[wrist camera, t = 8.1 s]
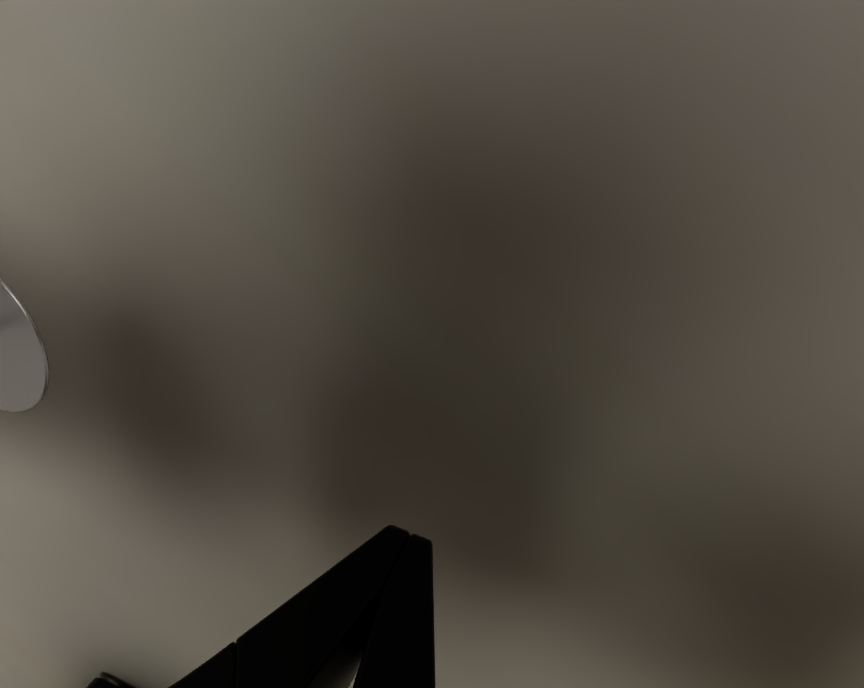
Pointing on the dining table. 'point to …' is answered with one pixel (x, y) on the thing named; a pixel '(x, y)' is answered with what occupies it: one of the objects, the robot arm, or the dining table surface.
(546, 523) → the dining table surface
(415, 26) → the dining table surface
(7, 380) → the goblet set
